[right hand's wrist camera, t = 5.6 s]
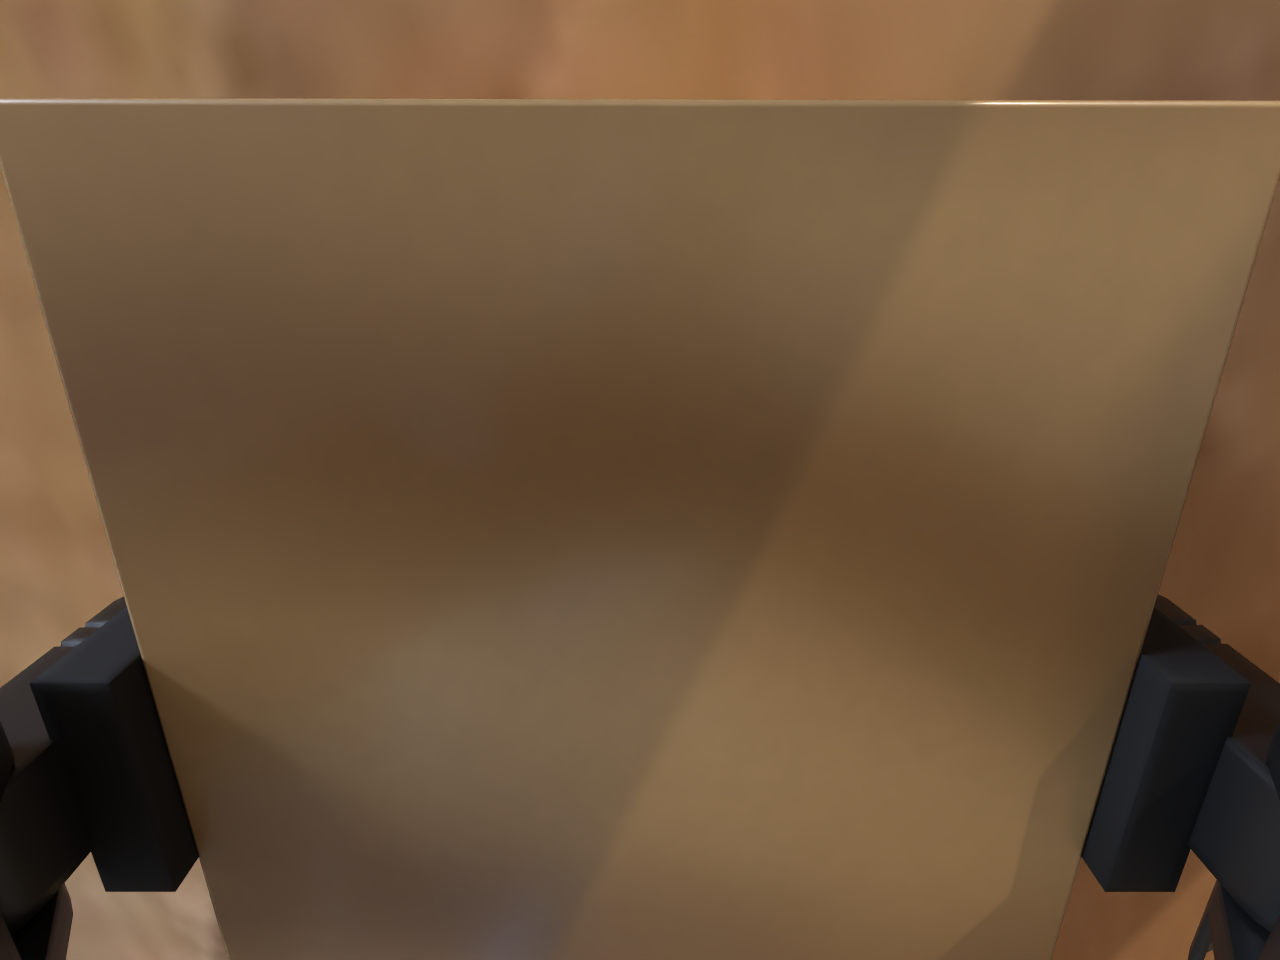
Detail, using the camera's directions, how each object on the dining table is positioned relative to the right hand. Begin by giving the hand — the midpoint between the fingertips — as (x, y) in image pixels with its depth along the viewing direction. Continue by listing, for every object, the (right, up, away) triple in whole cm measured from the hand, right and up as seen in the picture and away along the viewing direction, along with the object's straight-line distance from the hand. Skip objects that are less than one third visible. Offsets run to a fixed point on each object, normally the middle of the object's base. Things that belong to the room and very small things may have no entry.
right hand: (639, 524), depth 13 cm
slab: (0, -24, +10) cm, 26 cm away
